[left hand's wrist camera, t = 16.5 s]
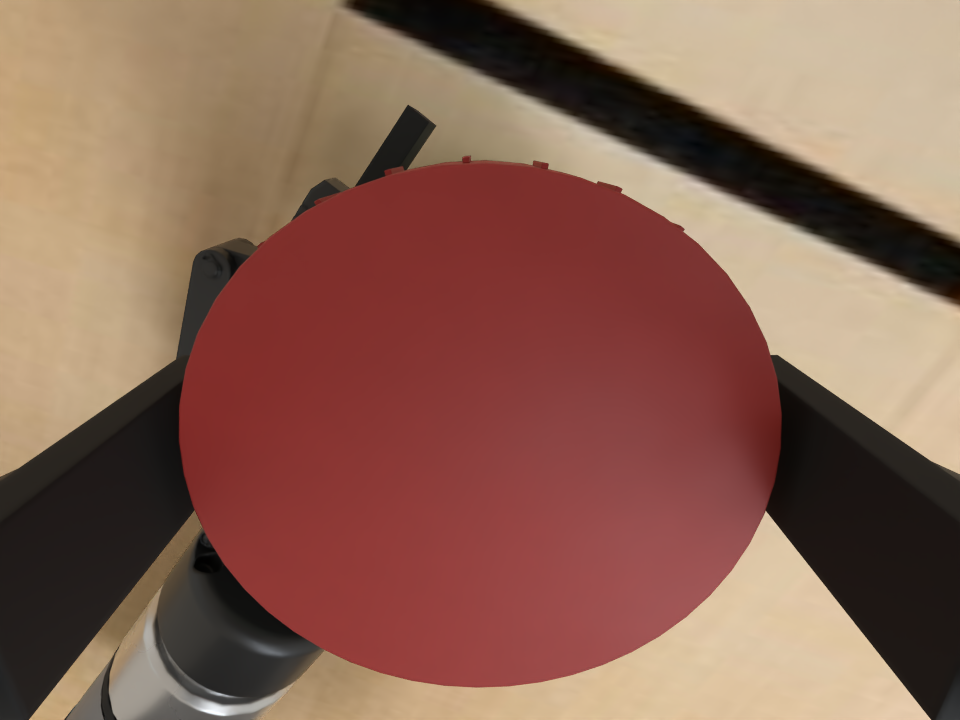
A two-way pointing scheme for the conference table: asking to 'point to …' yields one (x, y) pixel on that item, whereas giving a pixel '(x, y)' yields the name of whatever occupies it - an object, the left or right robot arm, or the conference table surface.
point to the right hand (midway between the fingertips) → (556, 224)
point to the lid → (480, 424)
